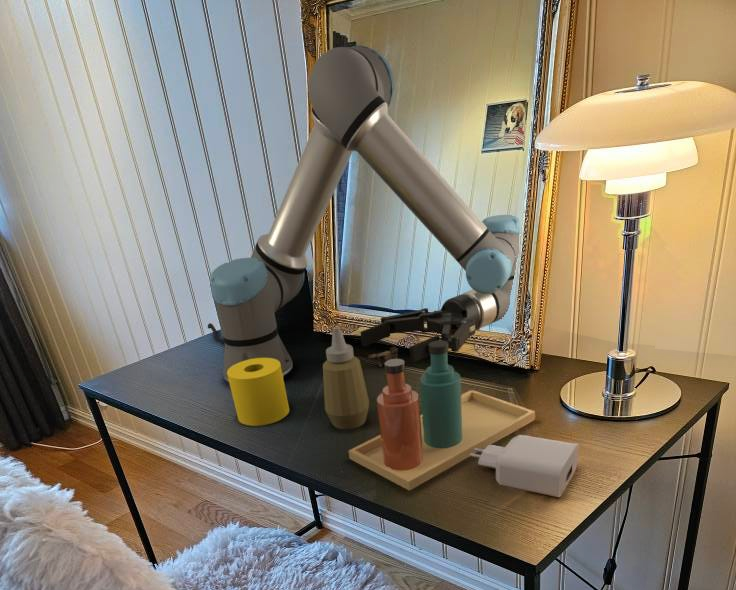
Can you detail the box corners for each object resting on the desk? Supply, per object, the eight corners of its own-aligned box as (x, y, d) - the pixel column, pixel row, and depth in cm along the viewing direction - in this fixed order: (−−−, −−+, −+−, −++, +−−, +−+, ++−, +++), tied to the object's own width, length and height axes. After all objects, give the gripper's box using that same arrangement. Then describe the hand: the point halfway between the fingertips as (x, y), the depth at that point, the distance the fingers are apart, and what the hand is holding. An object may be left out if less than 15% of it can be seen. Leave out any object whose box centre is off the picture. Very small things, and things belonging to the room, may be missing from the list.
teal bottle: (416, 440, 109) (408, 345, 100) (443, 426, 113) (438, 333, 103) (443, 452, 105) (438, 354, 96) (470, 437, 108) (468, 341, 99)
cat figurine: (398, 367, 137) (393, 349, 135) (367, 371, 141) (362, 353, 139) (405, 362, 139) (400, 344, 137) (374, 366, 143) (369, 348, 141)
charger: (483, 451, 105) (577, 468, 98) (460, 480, 99) (558, 500, 92) (483, 425, 102) (579, 441, 95) (459, 453, 96) (560, 472, 89)
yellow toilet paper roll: (268, 398, 132) (259, 354, 127) (299, 410, 126) (291, 364, 121) (228, 417, 127) (216, 371, 121) (258, 430, 120) (247, 383, 115)
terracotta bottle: (375, 461, 105) (364, 364, 96) (404, 446, 108) (396, 351, 99) (401, 474, 101) (392, 374, 92) (431, 458, 104) (425, 360, 95)
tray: (349, 461, 107) (348, 450, 106) (471, 399, 121) (471, 389, 120) (409, 493, 97) (408, 481, 96) (535, 422, 111) (535, 411, 110)
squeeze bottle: (366, 434, 114) (354, 335, 104) (322, 434, 116) (306, 337, 106) (375, 413, 121) (364, 318, 111) (333, 414, 123) (319, 320, 113)
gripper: (517, 344, 121) (436, 382, 111) (424, 320, 138) (346, 351, 128) (518, 304, 117) (433, 340, 106) (422, 284, 134) (341, 314, 123)
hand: (385, 346), depth 117 cm, fingers open, 13 cm apart
